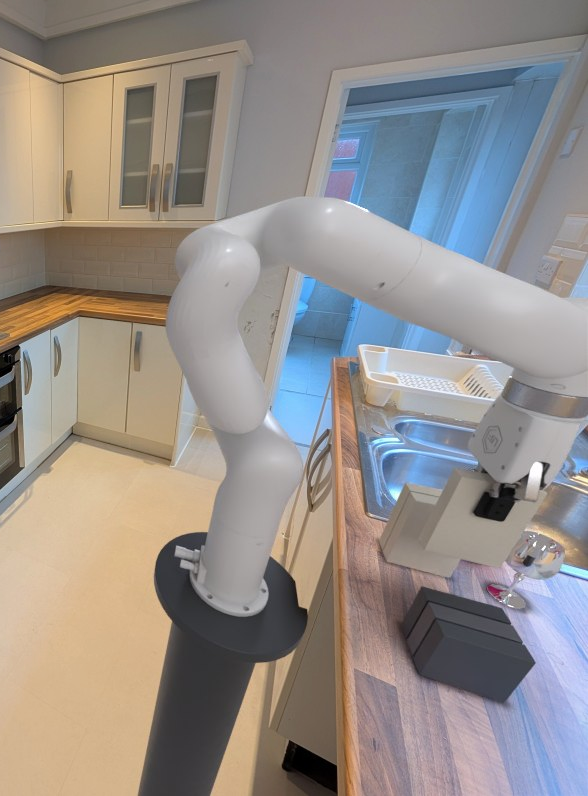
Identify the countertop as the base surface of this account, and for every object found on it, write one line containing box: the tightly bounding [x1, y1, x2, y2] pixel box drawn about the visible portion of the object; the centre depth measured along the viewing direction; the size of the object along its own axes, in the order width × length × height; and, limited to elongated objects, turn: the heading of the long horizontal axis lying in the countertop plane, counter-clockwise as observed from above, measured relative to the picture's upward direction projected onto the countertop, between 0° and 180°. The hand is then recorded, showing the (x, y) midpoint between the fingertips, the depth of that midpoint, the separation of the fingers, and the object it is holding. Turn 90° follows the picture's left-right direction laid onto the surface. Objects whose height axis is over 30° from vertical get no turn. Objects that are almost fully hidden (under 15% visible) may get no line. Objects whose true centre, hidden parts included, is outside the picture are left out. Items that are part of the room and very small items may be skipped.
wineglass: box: [486, 530, 566, 610], centre depth 67 cm, size 6×6×12 cm
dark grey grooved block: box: [400, 585, 537, 704], centre depth 58 cm, size 9×8×8 cm
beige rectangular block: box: [378, 481, 461, 579], centre depth 74 cm, size 9×5×14 cm, turn 67°
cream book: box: [419, 467, 549, 570], centre depth 62 cm, size 9×2×14 cm, turn 67°
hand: (482, 509), depth 61 cm, fingers closed on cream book, 2 cm apart
